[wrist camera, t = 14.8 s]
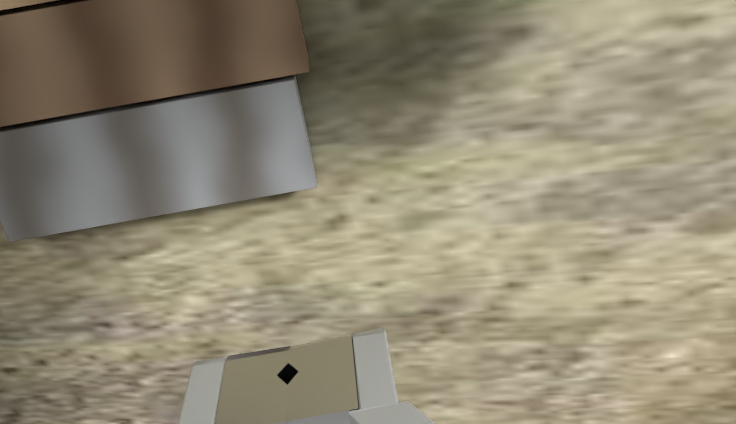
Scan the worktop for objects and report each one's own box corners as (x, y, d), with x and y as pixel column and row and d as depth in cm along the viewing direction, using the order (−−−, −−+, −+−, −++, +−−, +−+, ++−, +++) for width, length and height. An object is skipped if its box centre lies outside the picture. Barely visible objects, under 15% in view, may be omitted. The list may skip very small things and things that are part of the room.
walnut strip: (288, -39, 36) (288, -35, 34) (309, 63, 39) (309, 72, 37) (-88, 27, 36) (-109, 35, 34) (-40, 125, 39) (-56, 136, 37)
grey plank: (295, 73, 39) (294, 80, 37) (316, 175, 42) (316, 187, 40) (-22, 129, 39) (-38, 139, 37) (22, 228, 42) (9, 242, 40)
